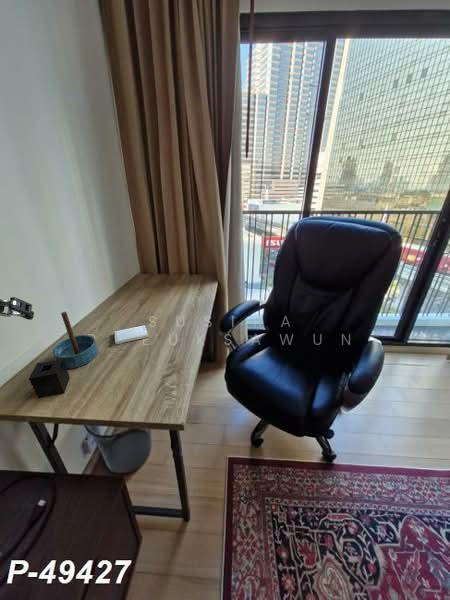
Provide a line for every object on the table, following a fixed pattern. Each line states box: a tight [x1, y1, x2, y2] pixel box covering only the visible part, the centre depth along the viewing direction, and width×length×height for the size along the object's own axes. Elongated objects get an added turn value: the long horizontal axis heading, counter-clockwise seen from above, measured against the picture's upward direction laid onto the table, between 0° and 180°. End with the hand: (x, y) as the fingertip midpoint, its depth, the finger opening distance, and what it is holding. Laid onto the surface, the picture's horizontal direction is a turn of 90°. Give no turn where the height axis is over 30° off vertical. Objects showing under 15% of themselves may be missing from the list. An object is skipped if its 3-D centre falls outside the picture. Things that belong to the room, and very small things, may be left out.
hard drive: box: [114, 325, 149, 345], centre depth 104 cm, size 2×8×12 cm
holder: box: [28, 359, 71, 399], centre depth 77 cm, size 7×7×8 cm
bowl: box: [52, 334, 99, 369], centre depth 90 cm, size 13×13×6 cm
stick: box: [60, 311, 80, 355], centre depth 87 cm, size 2×2×18 cm
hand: (13, 317), depth 63 cm, fingers open, 8 cm apart
